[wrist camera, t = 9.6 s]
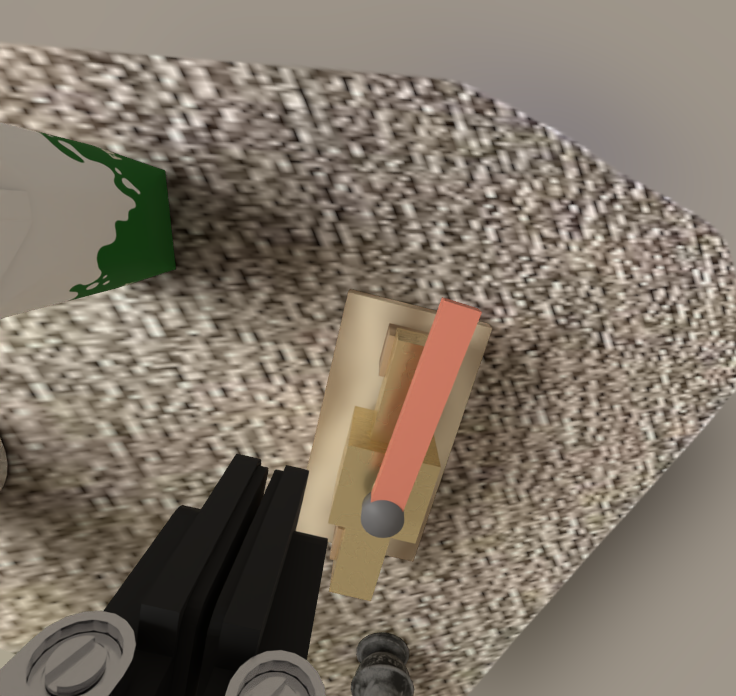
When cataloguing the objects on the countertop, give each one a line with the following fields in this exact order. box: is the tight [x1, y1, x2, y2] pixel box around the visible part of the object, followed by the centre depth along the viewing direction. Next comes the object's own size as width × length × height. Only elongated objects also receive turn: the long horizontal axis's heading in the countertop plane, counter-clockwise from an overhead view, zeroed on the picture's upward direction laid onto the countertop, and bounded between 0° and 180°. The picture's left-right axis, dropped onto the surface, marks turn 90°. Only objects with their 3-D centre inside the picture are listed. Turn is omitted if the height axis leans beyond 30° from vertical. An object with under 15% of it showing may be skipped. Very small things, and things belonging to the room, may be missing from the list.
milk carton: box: [0, 122, 176, 319], centre depth 23 cm, size 9×9×20 cm
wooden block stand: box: [328, 327, 441, 601], centre depth 31 cm, size 6×20×7 cm, turn 166°
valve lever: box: [361, 297, 482, 538], centre depth 25 cm, size 15×3×1 cm, turn 163°
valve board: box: [296, 289, 492, 561], centre depth 34 cm, size 11×22×5 cm, turn 166°
